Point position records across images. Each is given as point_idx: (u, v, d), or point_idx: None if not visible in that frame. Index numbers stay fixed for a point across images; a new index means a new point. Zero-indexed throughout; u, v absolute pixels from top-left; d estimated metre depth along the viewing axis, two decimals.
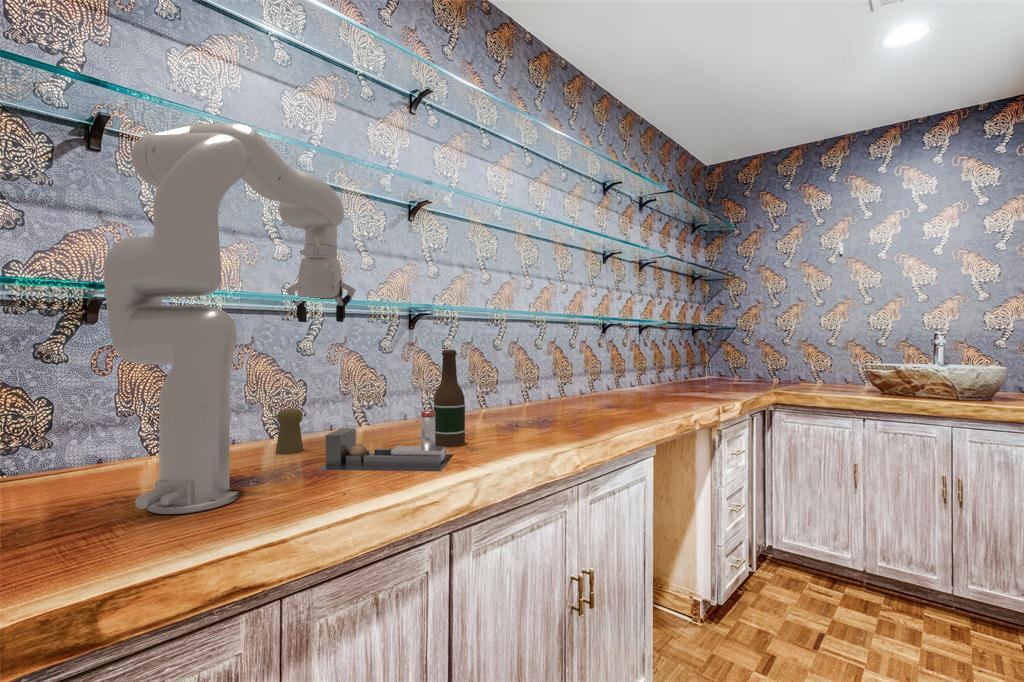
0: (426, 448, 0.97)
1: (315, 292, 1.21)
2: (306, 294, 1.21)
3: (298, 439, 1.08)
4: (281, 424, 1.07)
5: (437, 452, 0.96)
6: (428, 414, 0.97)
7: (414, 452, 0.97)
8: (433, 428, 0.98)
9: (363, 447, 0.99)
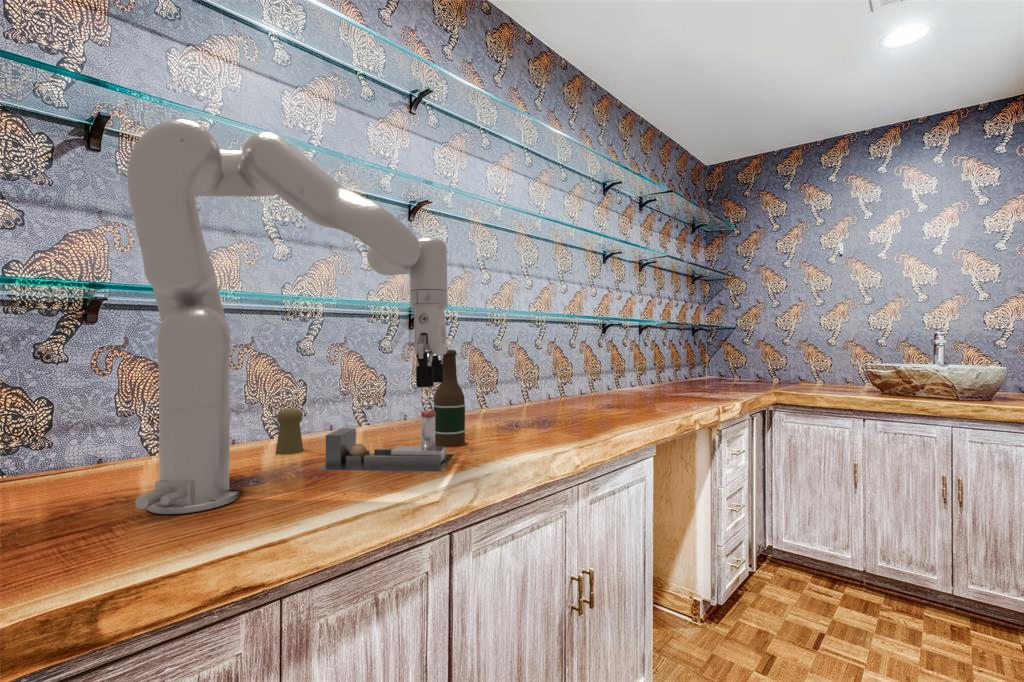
0: (426, 448, 0.97)
1: (443, 349, 0.99)
2: (440, 352, 0.96)
3: (298, 439, 1.08)
4: (281, 424, 1.07)
5: (437, 452, 0.96)
6: (428, 414, 0.97)
7: (414, 452, 0.97)
8: (433, 428, 0.98)
9: (363, 447, 0.99)
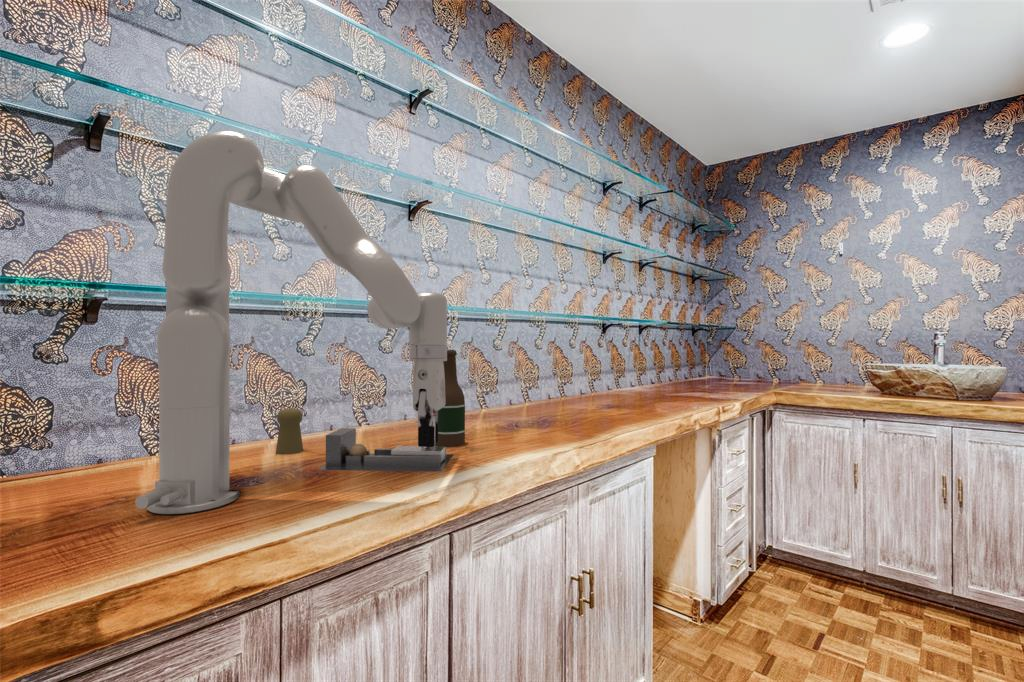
0: (426, 448, 0.97)
1: (441, 403, 0.99)
2: (439, 407, 0.96)
3: (298, 439, 1.08)
4: (281, 424, 1.07)
5: (437, 452, 0.96)
6: (428, 414, 0.97)
7: (414, 452, 0.97)
8: None
9: (363, 447, 0.99)
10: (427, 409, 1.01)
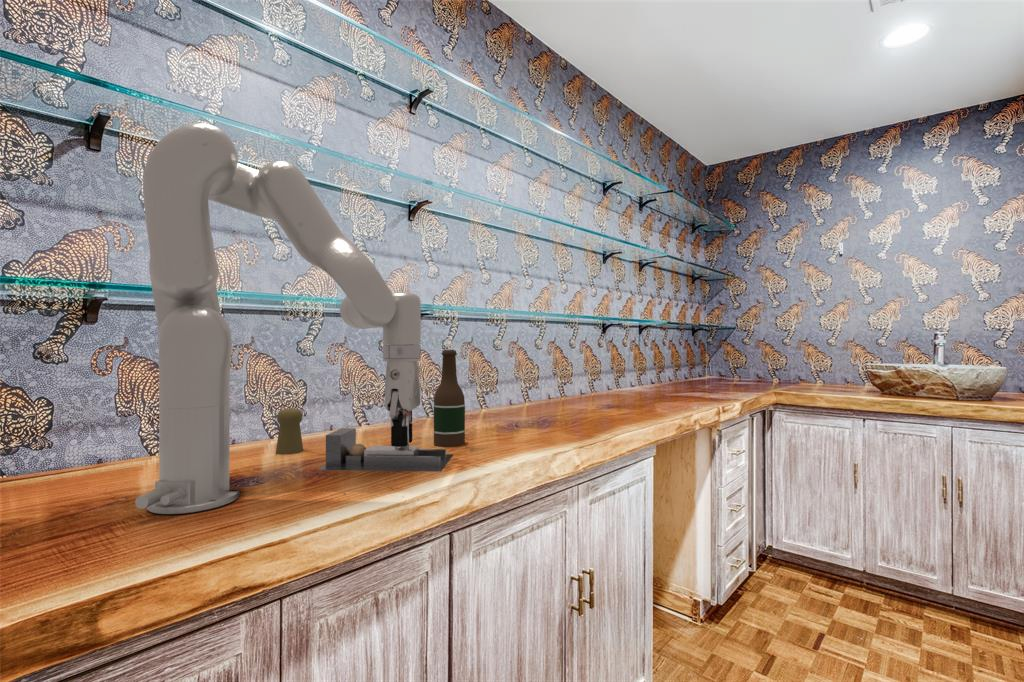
0: (399, 448, 0.98)
1: (415, 403, 0.99)
2: (412, 406, 0.97)
3: (298, 439, 1.08)
4: (281, 424, 1.07)
5: (410, 452, 0.97)
6: (401, 414, 0.98)
7: (387, 452, 0.97)
8: None
9: (363, 447, 0.99)
10: (401, 409, 1.01)
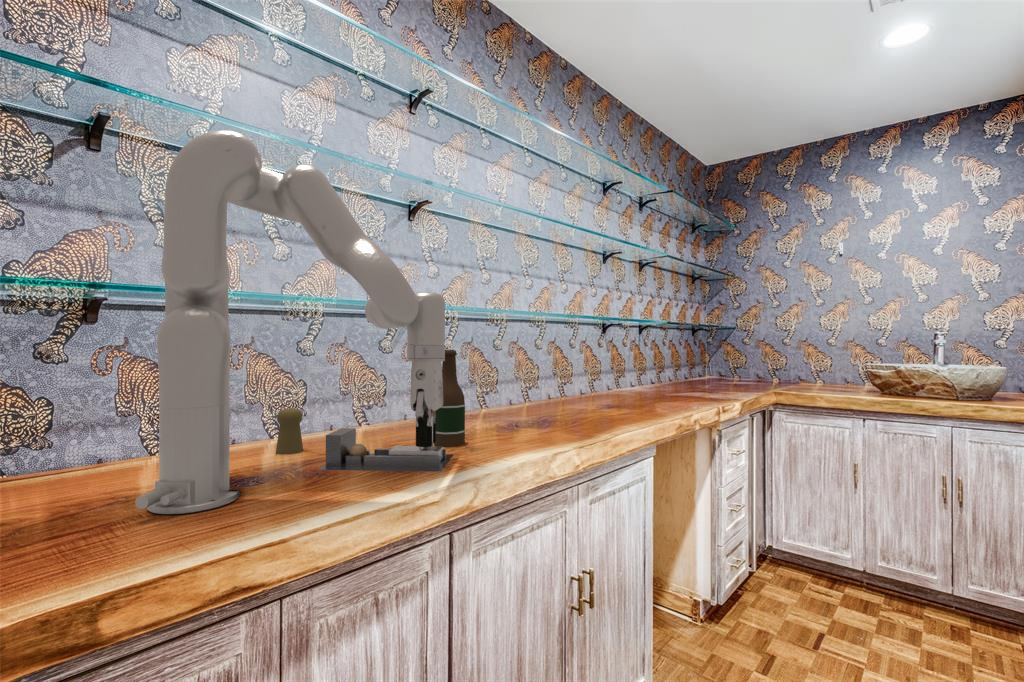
0: (424, 448, 0.98)
1: (439, 403, 0.99)
2: (437, 407, 0.96)
3: (298, 439, 1.08)
4: (281, 424, 1.07)
5: (435, 452, 0.97)
6: (426, 414, 0.97)
7: (412, 452, 0.97)
8: None
9: (363, 447, 0.99)
10: (425, 409, 1.01)
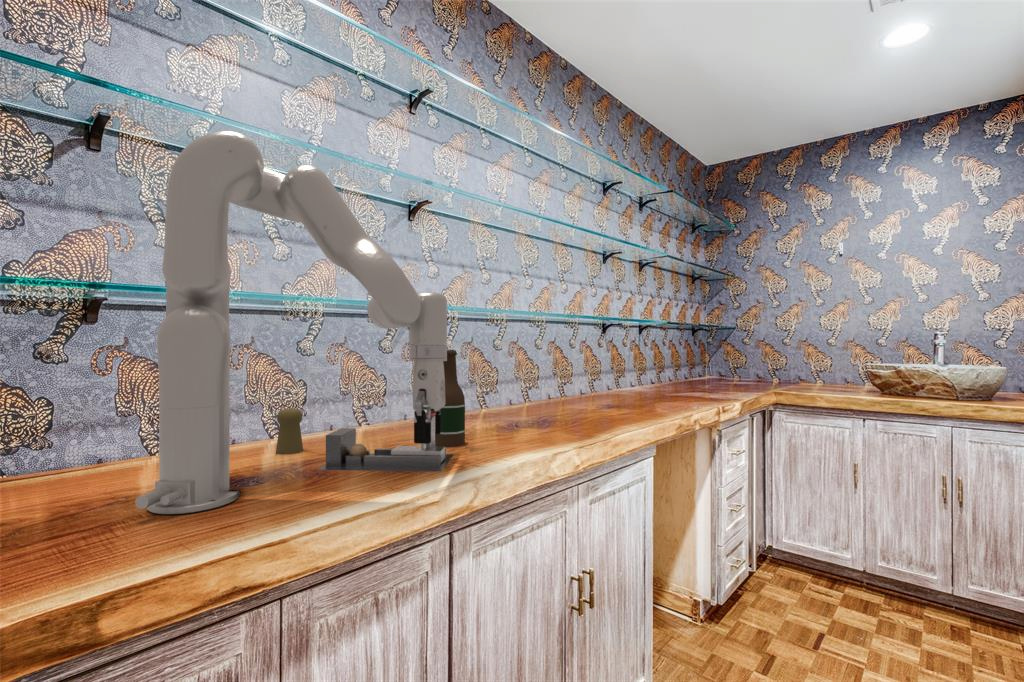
0: (426, 448, 0.97)
1: (441, 403, 0.99)
2: (439, 407, 0.96)
3: (298, 439, 1.08)
4: (281, 424, 1.07)
5: (437, 452, 0.96)
6: None
7: (414, 452, 0.97)
8: (433, 428, 0.98)
9: (363, 447, 0.99)
10: None
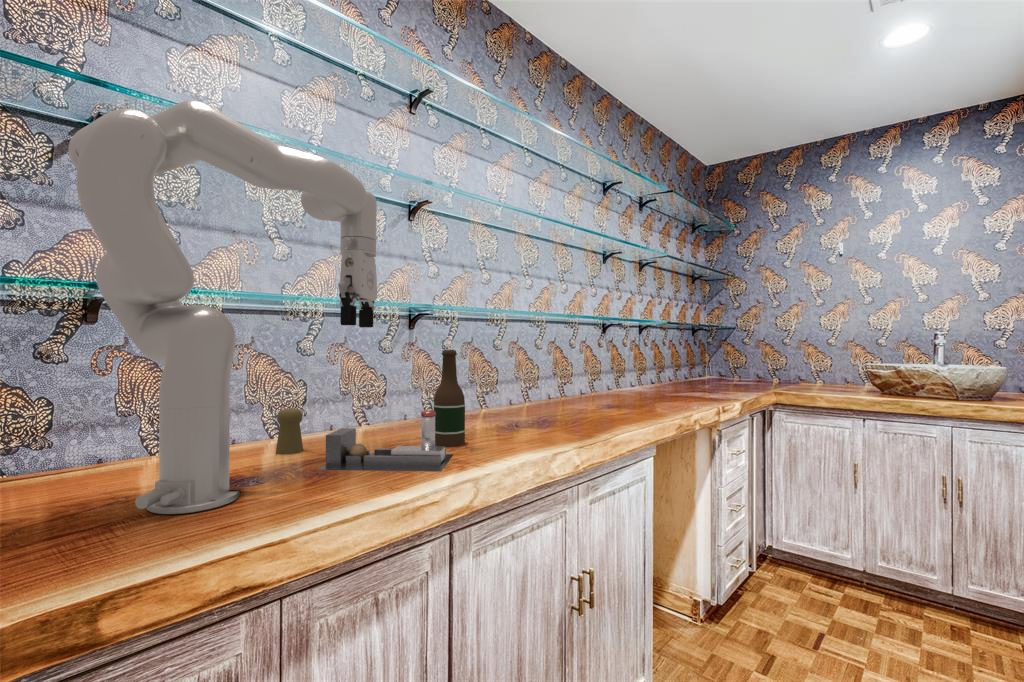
0: (426, 448, 0.97)
1: (370, 293, 1.07)
2: (365, 294, 1.04)
3: (298, 439, 1.08)
4: (281, 424, 1.07)
5: (437, 452, 0.96)
6: (428, 414, 0.97)
7: (414, 452, 0.97)
8: (433, 428, 0.98)
9: (363, 447, 0.99)
10: (361, 300, 1.11)
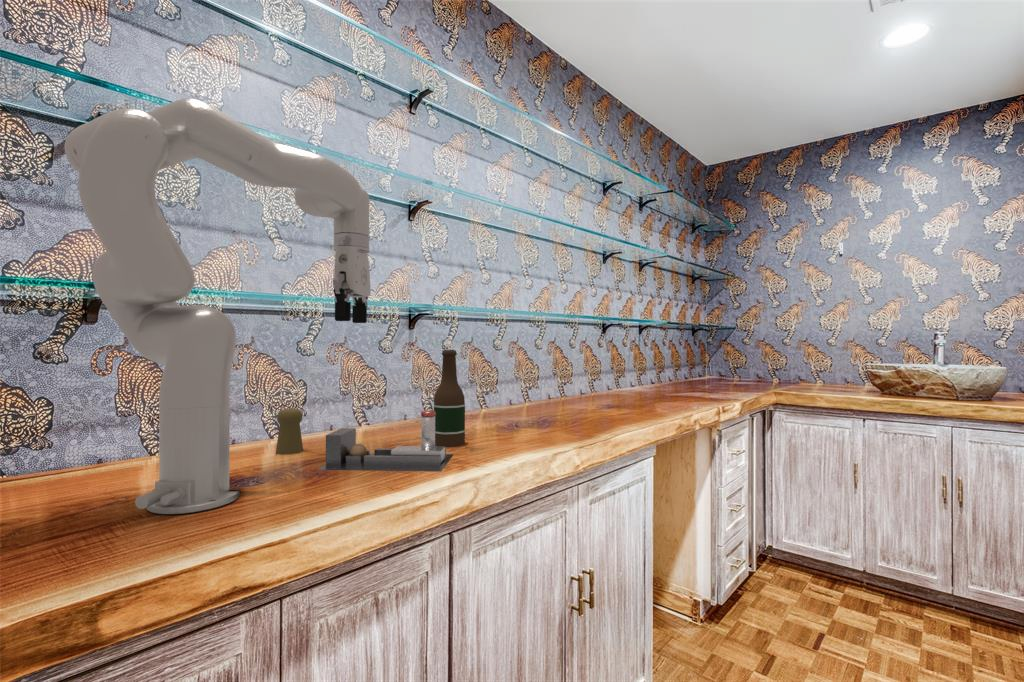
0: (426, 448, 0.97)
1: (363, 289, 1.08)
2: (359, 290, 1.05)
3: (298, 439, 1.08)
4: (281, 424, 1.07)
5: (437, 452, 0.96)
6: (428, 414, 0.97)
7: (414, 452, 0.97)
8: (433, 428, 0.98)
9: (363, 447, 0.99)
10: (355, 296, 1.12)
